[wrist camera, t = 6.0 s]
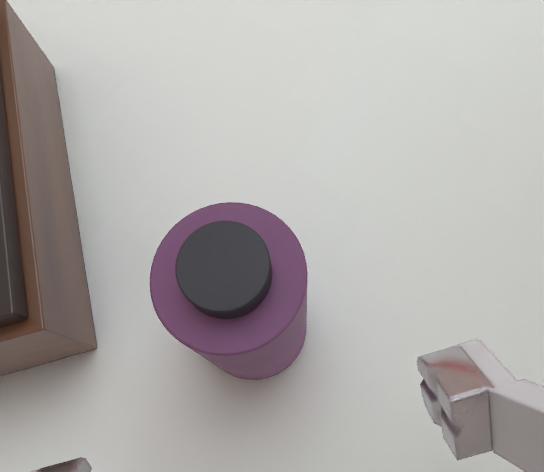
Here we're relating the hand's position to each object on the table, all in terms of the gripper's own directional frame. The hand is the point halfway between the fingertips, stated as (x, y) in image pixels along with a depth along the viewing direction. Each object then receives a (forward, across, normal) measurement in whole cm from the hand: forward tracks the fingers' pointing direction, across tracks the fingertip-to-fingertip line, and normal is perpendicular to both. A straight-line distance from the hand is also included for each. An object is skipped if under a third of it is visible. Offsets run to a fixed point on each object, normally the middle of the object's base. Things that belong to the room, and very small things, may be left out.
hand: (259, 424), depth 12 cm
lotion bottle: (+10, 0, +4) cm, 11 cm away
